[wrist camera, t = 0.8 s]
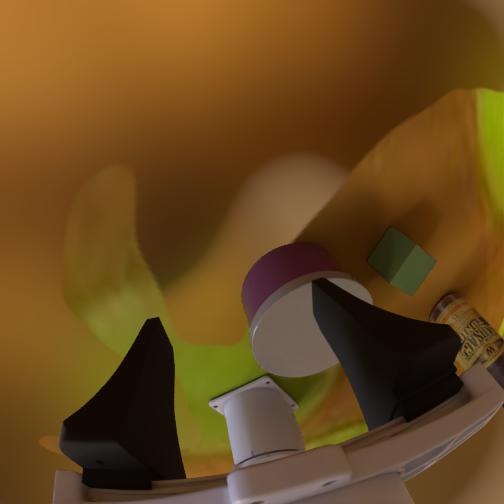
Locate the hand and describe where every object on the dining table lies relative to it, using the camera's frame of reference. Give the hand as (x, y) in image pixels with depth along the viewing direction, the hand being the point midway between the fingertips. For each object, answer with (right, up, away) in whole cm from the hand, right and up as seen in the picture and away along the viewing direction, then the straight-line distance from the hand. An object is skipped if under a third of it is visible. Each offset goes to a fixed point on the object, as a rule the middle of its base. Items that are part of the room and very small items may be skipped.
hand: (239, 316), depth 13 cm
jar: (+4, 0, +12) cm, 13 cm away
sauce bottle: (+26, -5, +20) cm, 33 cm away
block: (+14, +3, +13) cm, 19 cm away
